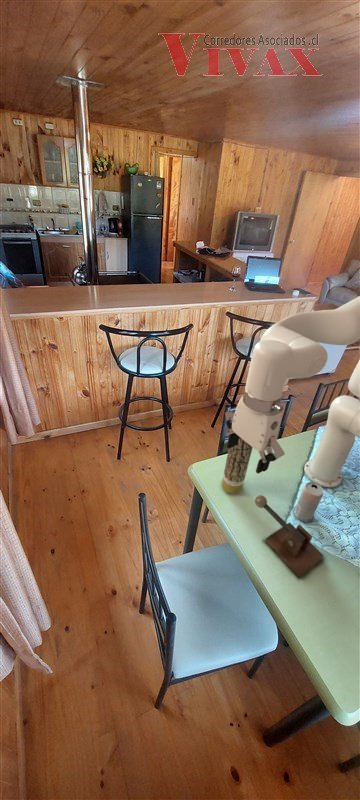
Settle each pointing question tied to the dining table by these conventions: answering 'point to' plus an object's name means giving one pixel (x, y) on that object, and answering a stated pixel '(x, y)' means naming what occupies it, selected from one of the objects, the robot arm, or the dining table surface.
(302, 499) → the energy drink
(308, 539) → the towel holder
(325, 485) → the robot arm
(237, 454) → the wooden log
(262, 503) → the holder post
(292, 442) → the dining table surface
